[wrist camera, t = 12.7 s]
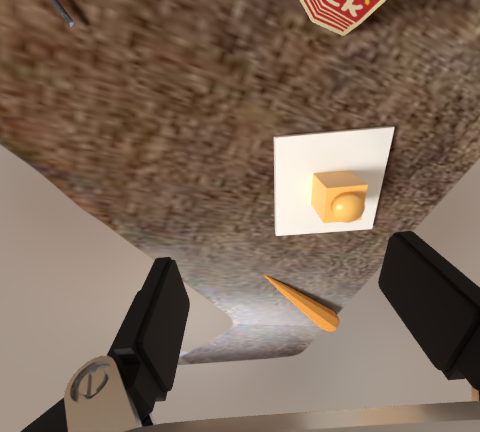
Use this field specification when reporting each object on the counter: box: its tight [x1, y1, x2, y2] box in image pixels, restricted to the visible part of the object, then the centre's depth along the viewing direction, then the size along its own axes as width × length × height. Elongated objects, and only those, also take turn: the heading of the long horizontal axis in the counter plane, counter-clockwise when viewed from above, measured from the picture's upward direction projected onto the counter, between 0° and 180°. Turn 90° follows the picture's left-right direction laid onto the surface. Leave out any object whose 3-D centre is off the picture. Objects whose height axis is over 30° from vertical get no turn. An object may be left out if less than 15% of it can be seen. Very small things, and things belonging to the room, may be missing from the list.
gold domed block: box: [311, 171, 368, 223], centre depth 31 cm, size 5×5×8 cm
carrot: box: [263, 274, 339, 332], centre depth 46 cm, size 20×4×4 cm, turn 52°
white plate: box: [274, 126, 395, 236], centre depth 33 cm, size 16×16×6 cm
